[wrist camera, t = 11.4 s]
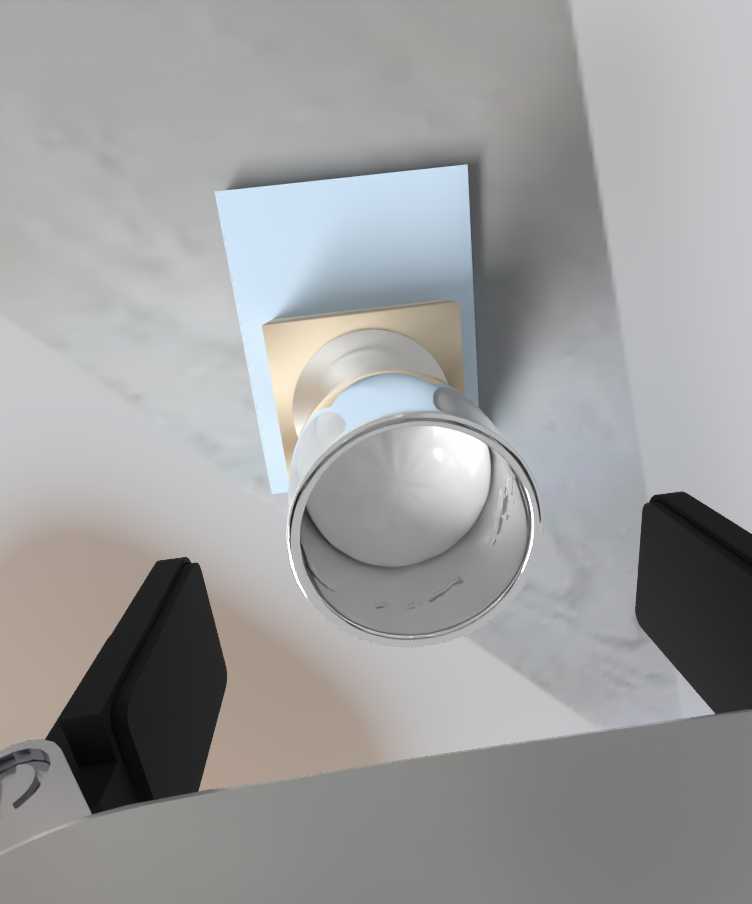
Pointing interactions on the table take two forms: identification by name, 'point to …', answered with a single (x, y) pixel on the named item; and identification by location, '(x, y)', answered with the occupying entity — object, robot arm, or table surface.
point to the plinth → (342, 332)
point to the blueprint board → (345, 262)
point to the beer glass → (407, 506)
